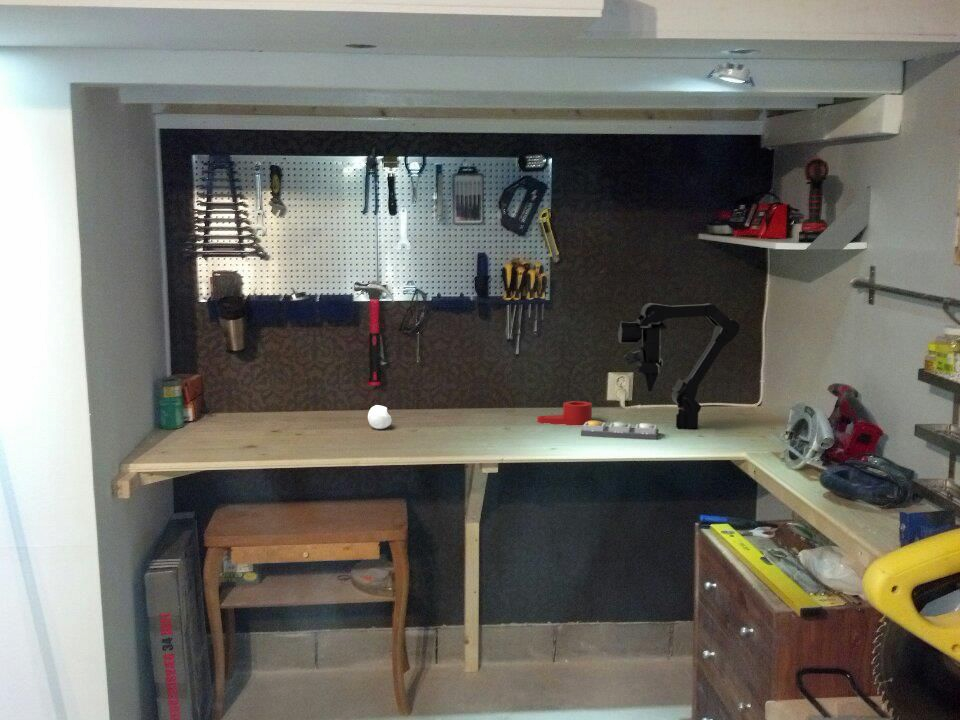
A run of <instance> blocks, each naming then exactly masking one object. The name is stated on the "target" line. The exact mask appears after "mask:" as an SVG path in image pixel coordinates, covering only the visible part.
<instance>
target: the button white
mask: <svg viewBox="0 0 960 720" xmlns="http://www.w3.org/2000/svg"><path fill="white" fill-rule="evenodd" d="M638 424H639V428H653V425H654V424H653V423H649V422H642V423H641V422H640V423H638Z"/></svg>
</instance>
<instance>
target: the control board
mask: <svg viewBox="0 0 960 720" xmlns="http://www.w3.org/2000/svg"><path fill="white" fill-rule="evenodd" d="M639 424H640V423H637V424H636V425H635V427H632V424H631V423H627V424H626V427H613V425H614V422H611V423H610V424H609V426H606V422H603V421H602V422H601V426H593V425H588V422H585V424H584V425H583V426H582V429H581V430H580V436H581V437H582V436H583V437H598V438H614V439H615V438H617V439H635V440H650V441H652V440H655V441H656V440H657V438H658V436H659V428H658V424H653V428H639Z"/></svg>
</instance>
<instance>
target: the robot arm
mask: <svg viewBox="0 0 960 720" xmlns="http://www.w3.org/2000/svg"><path fill="white" fill-rule="evenodd" d="M692 317H693V318H694V317H706V318H707V319H708V320H709V321H710V323H712V324H713V325H714V326H715V327H714V328H713V331H712V336H711V340H710V341H709V343H708V344H707V346H706V347H705V349H704V351H703V353H702V354H701V355H700V357H699V359H698V360H697V362H696V363H695V364H694V367H693V368H692V369H691V371H690V373H689V374H688V375H687V377H686V378H685V379H683V380H682V379H680V378H678V379H677V380H676V383H675V385H674V387H672V388H671V390H672V392H671V399H672V401H673V402H674V403H675V405H677V408H678V412H677V413H676V417H675V423H676V424H675V427H676V429H678V430H686V431H687V430H689V431H691V430H693V431H698V430H699V413H700V412H701V409H702V406H701V405H700V403H699V402H698V401H697V400H695V399H696V398H697V395H698V392H699V388H700V387H699V386H700V384H701V382H702V381H703V379H704V378H705V376H706V375H707V374H708V372H709V370H710V369H711V367H712V365H713V364H714V363H715V361H716V360H717V358H718V356H719V355H720V354H721V352H722V350H724V348H725V347H726V346H727V345H728V344H730V343H731V342H732V341H733V340H734V339H735V338H736V337H737V336H738V335H739V333H740V331H741V327H740V324H739V322H738V321H737V320H735V319H731V318H730V317H728V316H727V315H726V314H725V313H724V312H722V311H721V310H720V309H719V308H718V307H717V306H716V305H715V304H713V303H709V302H708V303H707V302H706V303H702V304H682V305H680V304H679V305H666V304H661V303H660V304H659V303H653V302H649V303H646V304H644V305H643V306H642V308H641V312H640V314H639V316H638V317H637V318H636V320H635V321H634V322H633V321H631V322H627V321H620V322H619V323H620V324H619V327H618V332H617V337H618V338H617V339H618V342H619V344H637V343H639V341H641V347H640V349H639V350H636V351H632V350H631V351H629V352H626V354H625V355H623V359H624V362H625V365H626V366H630V365H632V364H635V363H638V362H639V363H640V364H639V365H638V366H637V367H638V369H637V371H638V373H641V374H643V375H644V377H645V382H646V386H647V387H646V388H647V390H648V392H652V391H653V390H654V387H655V385H656V382H657V380H658V376H659V375H660V373H661V370H662V369H661V368H660V367H663V364H664V363H663V359H662V358H661V349H662V347H661V346H662V345H661V330H667V329H668V326H666V325H665V324H664V321H666V320H669V319H670V320H671V319H675V318H677V319H678V318H692Z"/></svg>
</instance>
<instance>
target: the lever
mask: <svg viewBox="0 0 960 720" xmlns="http://www.w3.org/2000/svg"><path fill="white" fill-rule="evenodd" d="M562 405H563V407H562V410H563V411H562V413H563V414H552V415H551V414H549V415H537V417H536V418H537V421H536V422H537V423H538V422H539V423H538V424H544V423H550V424H549V425H558V424H566V425H565V426H572V425H584V424H585V422H588V421H591V420H592V419H593V417H592V416H593V413H592V412H593V411H592V410H593V409H592V408H593V404H592V402H589V401H583V400H572V401H565V402H563V403H562Z"/></svg>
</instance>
